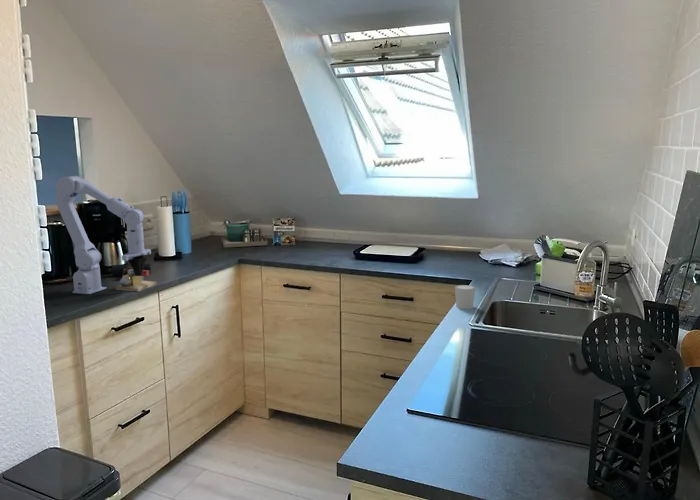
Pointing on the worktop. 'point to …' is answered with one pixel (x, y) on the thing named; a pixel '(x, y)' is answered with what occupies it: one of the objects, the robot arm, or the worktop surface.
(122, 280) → the valve body
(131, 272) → the lever
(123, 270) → the pipe connector
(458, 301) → the light grey cylinder
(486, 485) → the worktop surface
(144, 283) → the board
